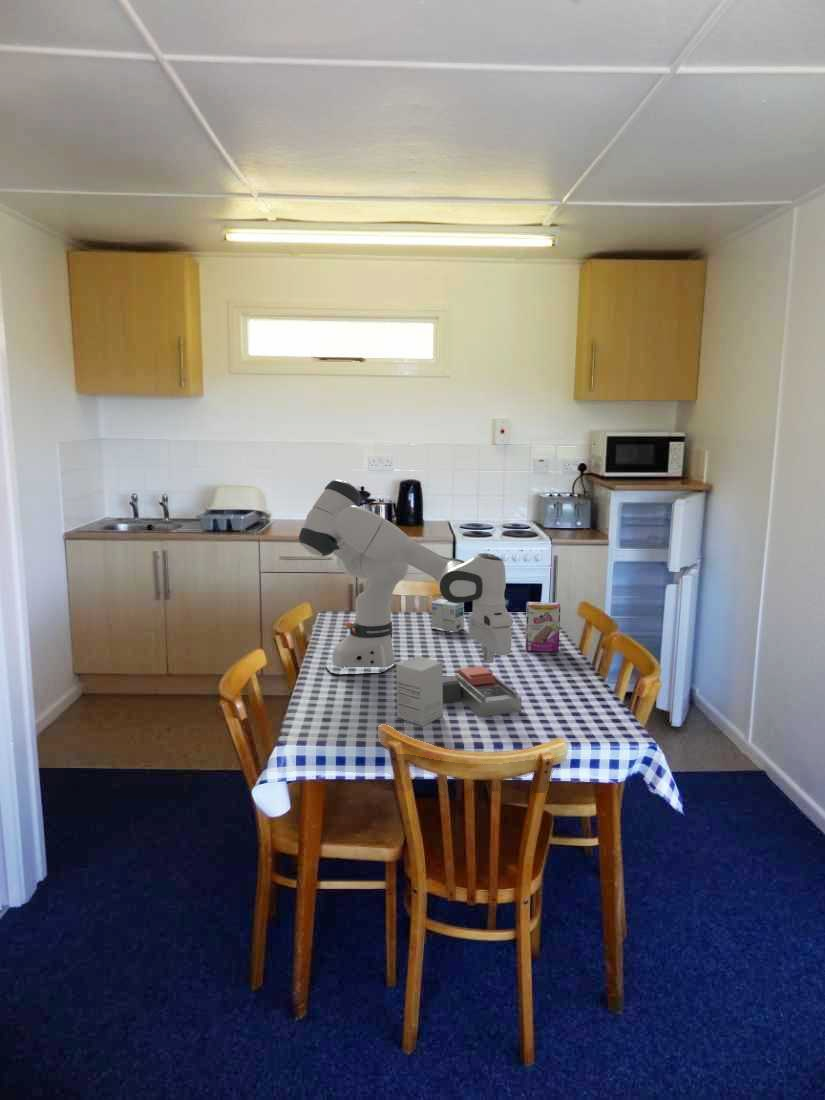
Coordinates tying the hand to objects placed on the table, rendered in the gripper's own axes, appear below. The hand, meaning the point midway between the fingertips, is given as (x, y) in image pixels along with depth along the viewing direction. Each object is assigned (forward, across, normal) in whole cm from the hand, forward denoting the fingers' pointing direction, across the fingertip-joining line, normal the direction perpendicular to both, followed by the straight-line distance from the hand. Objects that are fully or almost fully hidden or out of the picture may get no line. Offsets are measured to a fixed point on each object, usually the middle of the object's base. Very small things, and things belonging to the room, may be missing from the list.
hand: (488, 661), depth 208 cm
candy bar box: (+12, -37, +37) cm, 54 cm away
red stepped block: (+7, -7, 0) cm, 10 cm away
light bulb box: (+12, -72, +16) cm, 75 cm away
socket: (+12, -1, 0) cm, 12 cm away
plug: (+12, -6, -10) cm, 16 cm away
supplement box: (+12, +4, -22) cm, 25 cm away
